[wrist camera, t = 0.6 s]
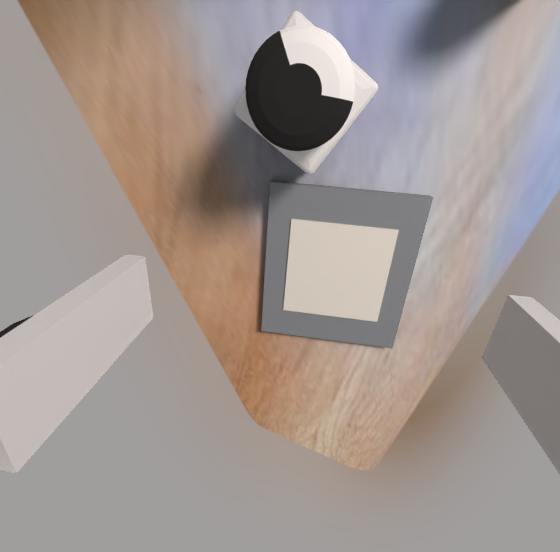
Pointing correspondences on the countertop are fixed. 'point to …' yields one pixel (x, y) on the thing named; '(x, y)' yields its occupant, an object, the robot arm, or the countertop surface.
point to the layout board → (340, 261)
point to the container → (303, 92)
